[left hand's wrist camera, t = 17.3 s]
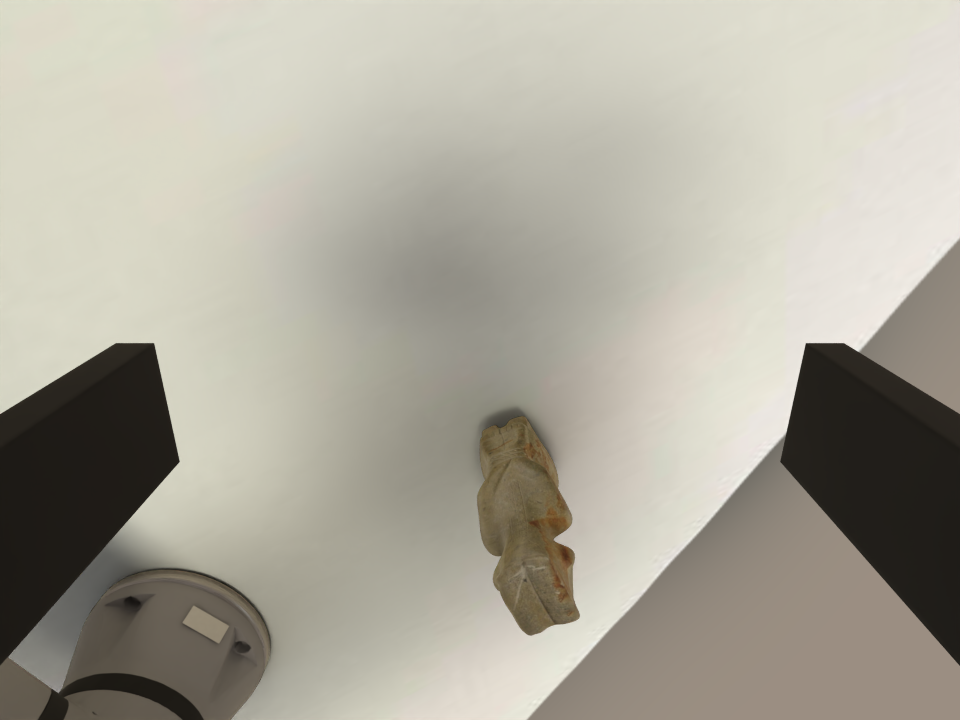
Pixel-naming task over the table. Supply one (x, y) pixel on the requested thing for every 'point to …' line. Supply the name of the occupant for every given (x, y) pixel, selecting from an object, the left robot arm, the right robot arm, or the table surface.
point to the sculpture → (526, 527)
